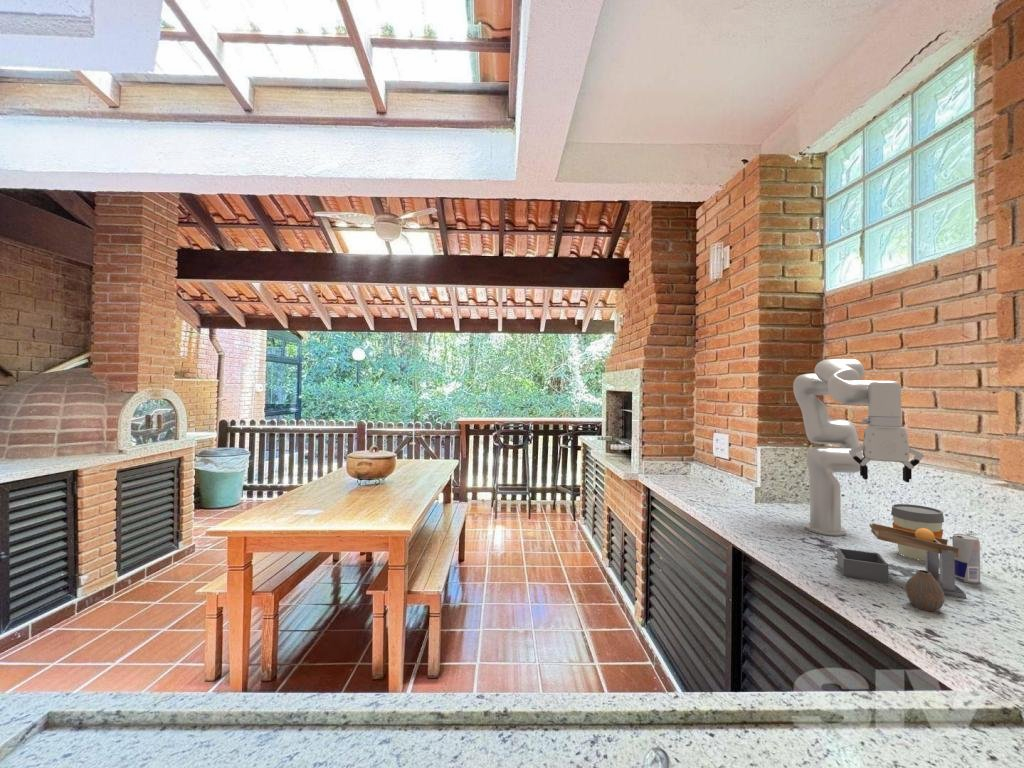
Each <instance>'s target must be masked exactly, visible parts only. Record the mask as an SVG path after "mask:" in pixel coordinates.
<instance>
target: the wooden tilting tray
mask: <svg viewBox="0 0 1024 768" xmlns="http://www.w3.org/2000/svg"><path fill="white" fill-rule="evenodd" d="M869 527H870V528H871V530H870V532H871V533H872V534H873V535H874V536H875V538H876V539H877V540H880V541H884V542H887V543H888V542H889V543H893V544H897V545H898V544H901V545H905V546H909V547H913V548H918V549H922V550H926V551H931V552H935V553H939V555H940V549H943V550H951V551H953V552H954V557H957V555H958V549H959V548H957V547H953V545H948V541H949V540H948V539H945V538H943V537H942V538H937V537H935V539H934V541H933V542H931V541H926V540H922V539H917V538H916V537H915V532H910V531H906V530H901V529H896V528H893V526H891V527H890V526H886V525H883V524H877V523H874V522H873V523H872V522H869Z"/></svg>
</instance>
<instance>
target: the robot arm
mask: <svg viewBox="0 0 1024 768" xmlns="http://www.w3.org/2000/svg"><path fill="white" fill-rule="evenodd" d="M864 374H865V369H864V365H863V364H862V362H861V361H859V360H857V359H854V358H831V359H830V358H829V359H824V360H821V361H819V362H818V363H817V364H816V365H815V367H814V373H813V372H812V373H804V374H800V375H798V376H796V377H795V379H794V381H793V385H792V386H793V387H792V389H793V395H794V397H795V400H796V402H797V404H798V406H799V408H800V411H801V414H802V419H803V426H804V430H805V435H806V438H807V440H808V441H809V442H810V443H812V444H819V445H820V446H819V445H818V446H814V447H811V448H809V449H808V450H807V451H806V457H805V459H806V464H807V469H808V475H809V476H808V479H809V522H808V523H805V527H804V528H805V530H807V531H809V532H813V533H815V534H819V535H823V536H824V535H825V536H834V537H835V536H836V537H838V536H839V537H840V536H845V535H846V534H847V530H846V528H843V527H842V516H841V515H842V513H841V512H842V510H841V506H842V504H841V502H842V500H841V494H842V493H841V485H840V482H839V480H838V478H836V476H835V475H834V473H847V474H848V473H849V474H852V473H853V474H854V473H858V472H859V474H860V477H862V479H863V480H868V478H869V470H868V466H867V464H868V463H870V461H874V462H875V461H876V462H887V463H888V462H893V463H901V464H902V465H903V467H902V481H904V482H905V483H910V480H912V479H913V478H912V474H913V473H912V471H913V469H914V467H916V466H917V465H919V464H920V461H921V460H922V459H923V457H924V456H925V455H924V453H922V452H920V451H917V450H915V449H914V448H913V449H912V448H910V446H909V439H908V434H907V430H906V428H905V427H903V426H902V386H901V383H900V382H899V381H895V380H862V379H863V377H864ZM817 396H830V397H831V398H832V399H833V400H835V401H836V402H838V403H841V404H843V405H868V406H867V407H868V412H867V413H868V415H867V417H863V418H862V423H866V424H867V425H866V426H865V429H864V434H863V440H862V441H863V442H862V445H860V444H861V443H860V440H859V436H858V432H857V429H856V427H855V425H854V424H853V423H852V422H851V421H849V420H847V419H836V418H831V417H830V415H829V411H828V406H826V404H825V403H824V402H823V401H822V400H821V399H820V398H818V397H817ZM822 444H823V445H826V446H823V445H822ZM831 445H838V446H831ZM910 454H912V455H914V458H913V459H911V460H910ZM909 460H910V461H909Z"/></svg>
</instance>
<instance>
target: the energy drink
mask: <svg viewBox="0 0 1024 768" xmlns="http://www.w3.org/2000/svg"><path fill="white" fill-rule="evenodd" d="M952 546H953V547H957V548H959V549H958V555H957V557H954V560H955V580H957V581H960V582H963V583H967V584H974V585H975V584H979V583H981V542H980V540H979V538H978V536H977V537H976V536H974V535H969V534H963V533H953V535H952Z"/></svg>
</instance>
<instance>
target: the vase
mask: <svg viewBox="0 0 1024 768" xmlns="http://www.w3.org/2000/svg"><path fill="white" fill-rule="evenodd" d="M917 570H918V571H917V572H916V571H915V573H914V574H913V575H912V576H910V578H908V579H907V581H906V585H905V594H906V596H907V599H908V600H909V602H910V603H911V604H912V605H913V606H914V607H916V608H917V609H919V610H921V611H927V612H936V611H938V610H940V609H941V608H942V607H943V606H944V603H945V595H944V592H943V590H942V587H941V586H940V584H939V583H938V582H937V581H936V580H935V579H934V577H933V576H932V574H931V573H930V572H929V571H926V569H917Z"/></svg>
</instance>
